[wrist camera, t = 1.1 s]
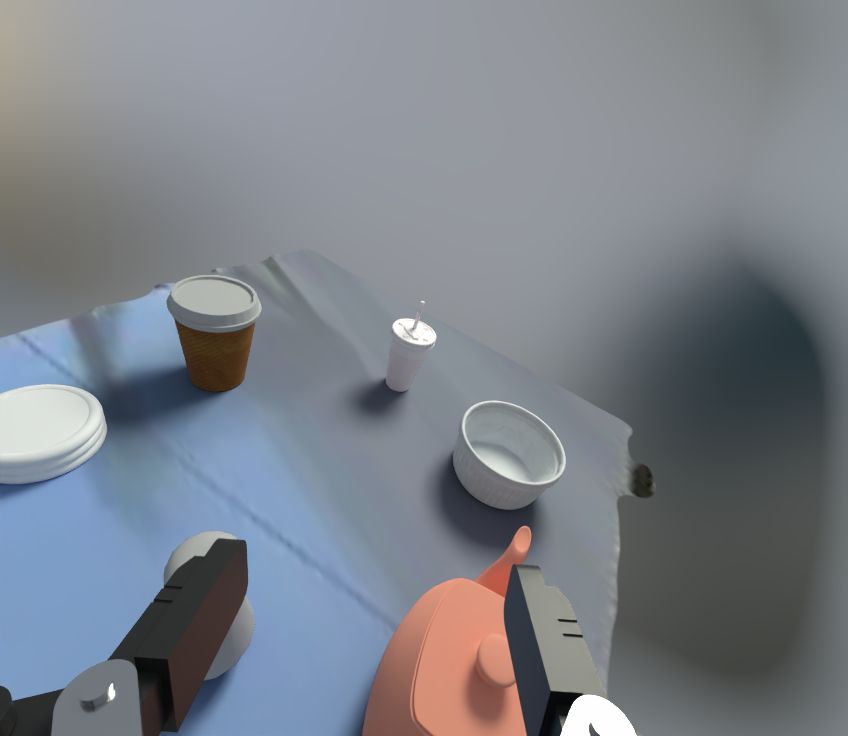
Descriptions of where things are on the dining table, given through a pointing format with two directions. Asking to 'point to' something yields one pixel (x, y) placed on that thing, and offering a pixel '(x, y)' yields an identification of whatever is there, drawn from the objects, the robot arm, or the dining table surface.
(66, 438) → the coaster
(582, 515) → the dining table surface
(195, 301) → the disposable coffee cup
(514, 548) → the teapot
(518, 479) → the ramekin
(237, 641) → the salt shaker
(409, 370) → the smoothie
